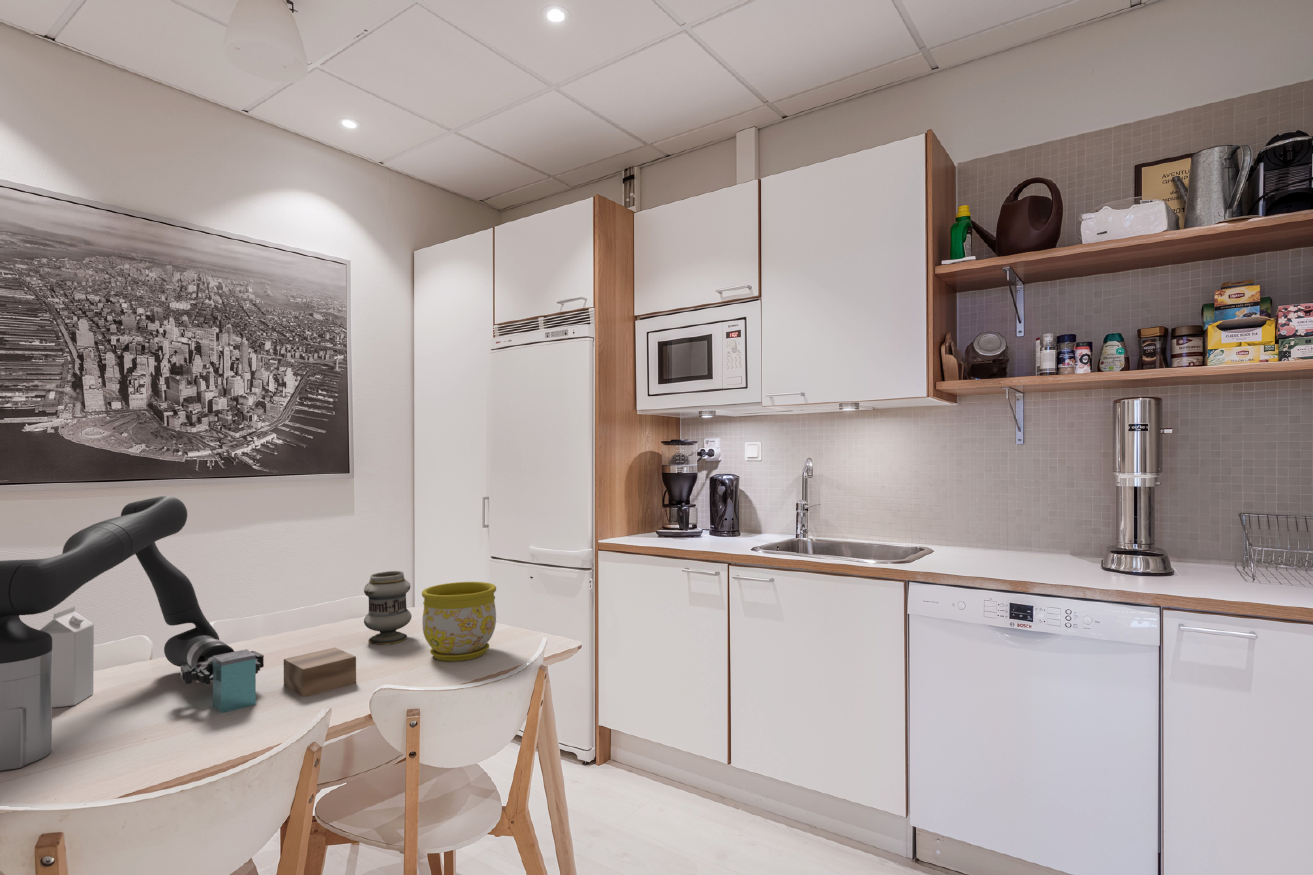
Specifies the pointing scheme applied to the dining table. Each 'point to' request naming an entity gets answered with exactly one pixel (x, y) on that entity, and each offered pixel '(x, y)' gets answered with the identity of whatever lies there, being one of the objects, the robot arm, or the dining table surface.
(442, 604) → the flowerpot
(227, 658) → the tea tin
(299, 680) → the walnut block
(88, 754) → the dining table surface
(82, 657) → the milk carton
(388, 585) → the apothecary jar
